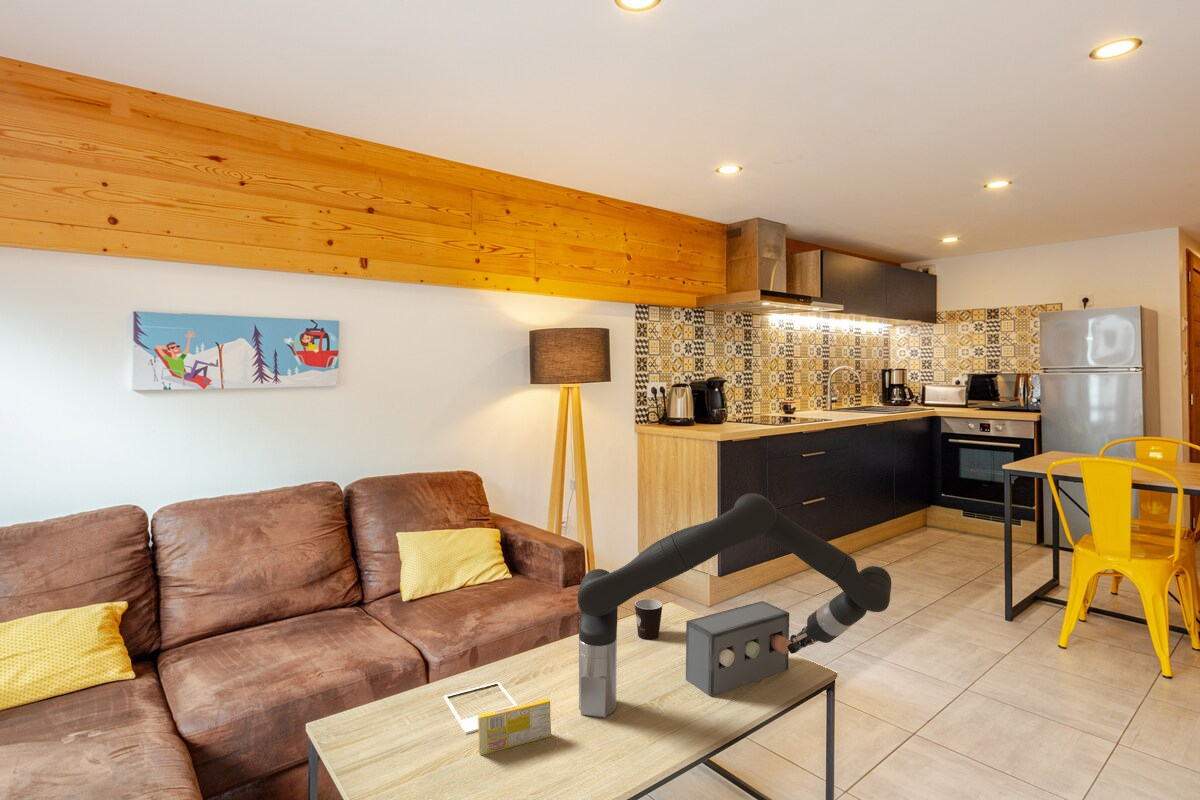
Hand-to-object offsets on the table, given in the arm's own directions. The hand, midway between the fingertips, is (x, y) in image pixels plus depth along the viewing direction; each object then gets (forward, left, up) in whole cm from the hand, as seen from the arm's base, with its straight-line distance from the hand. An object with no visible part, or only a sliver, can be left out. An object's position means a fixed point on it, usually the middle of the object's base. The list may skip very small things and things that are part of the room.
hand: (790, 649), depth 165 cm
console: (+1, +14, -9) cm, 16 cm away
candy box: (-43, +61, -9) cm, 75 cm away
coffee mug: (+21, +42, -9) cm, 47 cm away
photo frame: (-31, +74, -9) cm, 81 cm away
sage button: (-1, +12, -2) cm, 12 cm away
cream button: (-7, +18, -2) cm, 20 cm away
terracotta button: (+4, +4, -2) cm, 6 cm away
